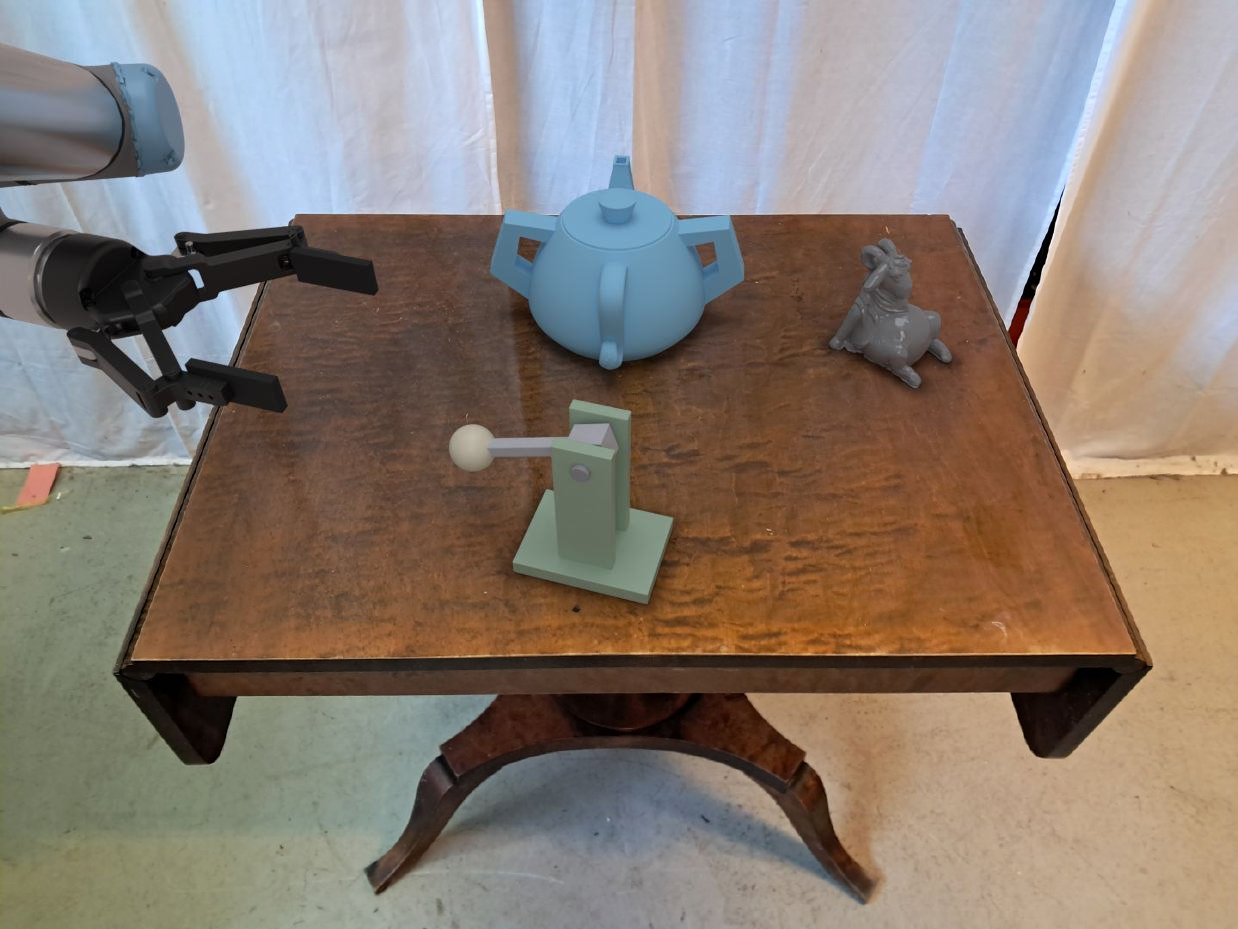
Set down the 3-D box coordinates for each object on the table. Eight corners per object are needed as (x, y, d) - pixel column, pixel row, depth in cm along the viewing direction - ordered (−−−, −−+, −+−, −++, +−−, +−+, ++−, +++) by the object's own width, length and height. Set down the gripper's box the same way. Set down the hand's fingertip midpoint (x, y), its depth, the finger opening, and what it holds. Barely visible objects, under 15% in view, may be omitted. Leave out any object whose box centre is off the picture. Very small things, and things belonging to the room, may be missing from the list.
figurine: (910, 394, 89) (939, 303, 81) (825, 344, 94) (844, 254, 86) (959, 354, 93) (991, 263, 85) (874, 308, 98) (897, 218, 90)
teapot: (744, 323, 96) (758, 202, 86) (599, 407, 88) (595, 285, 78) (623, 241, 106) (622, 125, 96) (481, 310, 98) (465, 190, 88)
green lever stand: (513, 572, 75) (497, 451, 65) (547, 498, 80) (537, 376, 70) (647, 605, 73) (652, 485, 63) (672, 527, 78) (681, 406, 68)
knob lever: (452, 481, 72) (433, 447, 70) (471, 449, 75) (452, 415, 72) (609, 481, 67) (594, 444, 65) (624, 446, 69) (609, 410, 67)
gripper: (189, 236, 82) (413, 277, 78) (-21, 429, 66) (249, 494, 61) (158, 156, 77) (397, 195, 72) (-78, 345, 60) (213, 410, 56)
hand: (330, 332), depth 67 cm, fingers open, 13 cm apart
